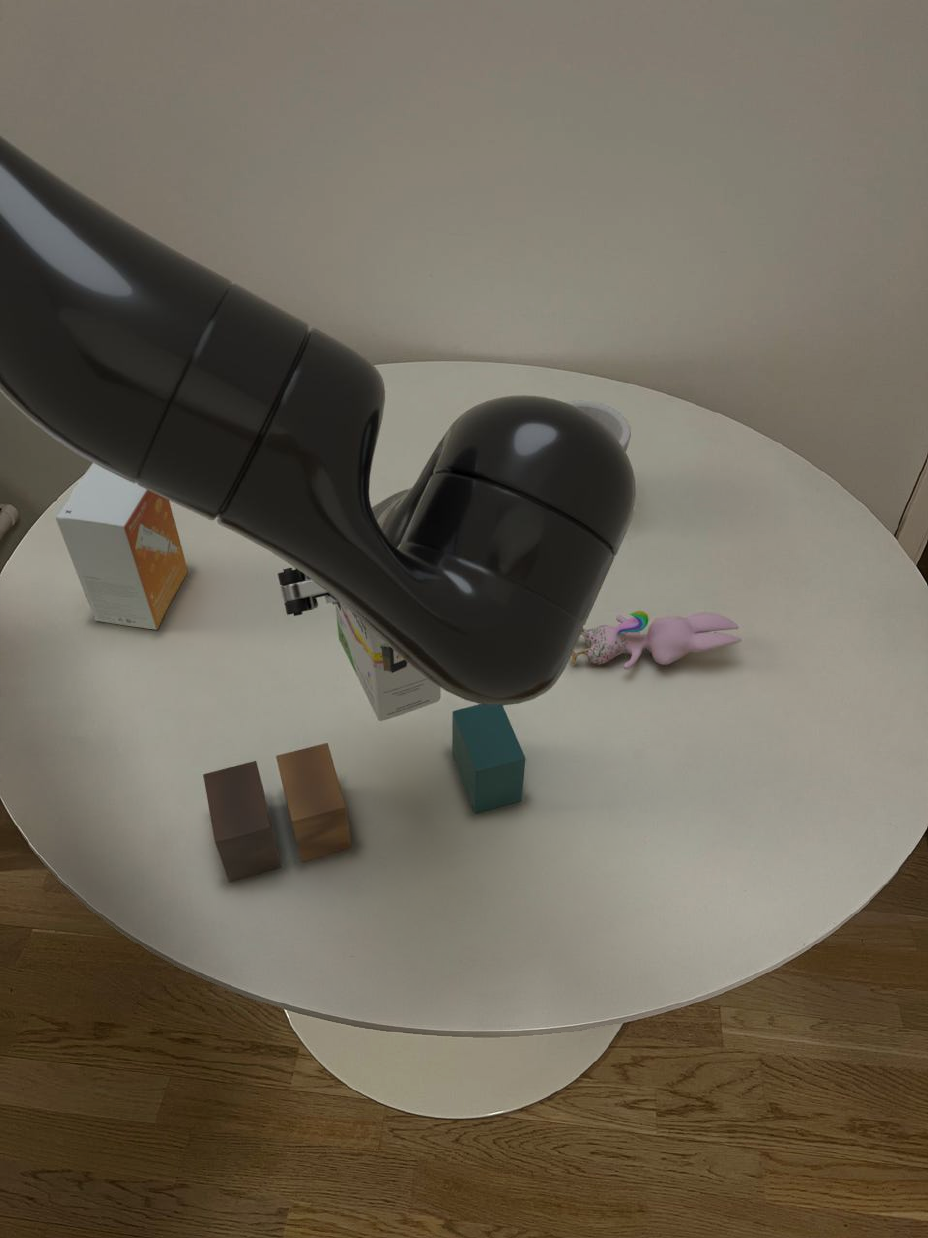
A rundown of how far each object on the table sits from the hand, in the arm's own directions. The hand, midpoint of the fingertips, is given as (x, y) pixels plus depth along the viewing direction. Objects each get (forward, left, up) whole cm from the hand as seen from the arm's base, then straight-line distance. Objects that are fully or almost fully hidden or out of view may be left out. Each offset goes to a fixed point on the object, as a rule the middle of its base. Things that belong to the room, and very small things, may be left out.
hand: (374, 572), depth 67 cm
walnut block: (-12, -5, -21) cm, 25 cm away
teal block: (+7, -5, -21) cm, 23 cm away
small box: (-17, +24, -22) cm, 37 cm away
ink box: (0, -2, -8) cm, 9 cm away
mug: (+26, +25, -22) cm, 42 cm away
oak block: (-7, -5, -21) cm, 23 cm away
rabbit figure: (+26, +3, -22) cm, 34 cm away
